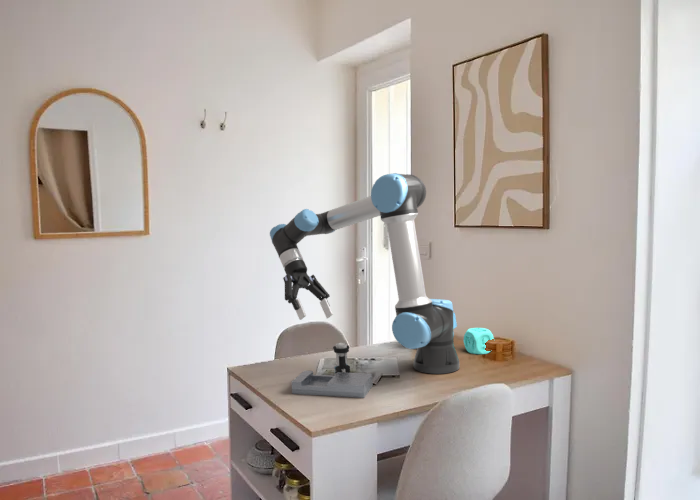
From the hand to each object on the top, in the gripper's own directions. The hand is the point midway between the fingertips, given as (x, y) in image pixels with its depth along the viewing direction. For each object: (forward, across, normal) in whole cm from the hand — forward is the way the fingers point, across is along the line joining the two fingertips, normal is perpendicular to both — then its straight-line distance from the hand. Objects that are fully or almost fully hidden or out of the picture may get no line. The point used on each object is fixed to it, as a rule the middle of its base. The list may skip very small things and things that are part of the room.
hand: (316, 317), depth 188 cm
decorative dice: (+30, -50, +23) cm, 62 cm away
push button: (+20, -2, -2) cm, 21 cm away
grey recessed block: (+26, +11, +3) cm, 29 cm away
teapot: (+20, -48, +8) cm, 52 cm away
